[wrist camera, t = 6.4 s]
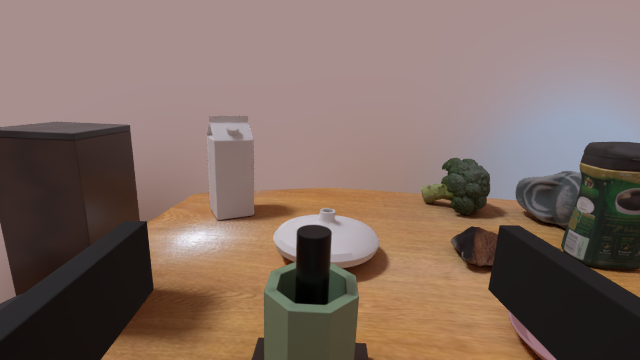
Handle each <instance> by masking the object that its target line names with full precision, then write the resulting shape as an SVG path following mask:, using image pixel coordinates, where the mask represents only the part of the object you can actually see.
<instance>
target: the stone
mask: <svg viewBox="0 0 640 360" xmlns="http://www.w3.org/2000/svg"><path fill="white" fill-rule="evenodd" d="M497 238H498V234H496V233H493V232H488V231H486V230H484V229H482V228H480V227H473V226H472V227H470V228H468V229H466V230H465V231H464V232H462V233H461V234H458V235H457V236H455V237H454V238H452V239H451V243H452V245H453V246H454V247H455V249H456V250H458V251H459V252H461V253H462V258H463V259H464V260H465V261H466V262H468V263H470V264H476V265H477V266H482V265H492V266H493V261H494V255H495V249H496V244H497ZM559 250H561V249H559Z"/></svg>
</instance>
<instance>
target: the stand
mask: <svg viewBox="0 0 640 360" xmlns="http://www.w3.org/2000/svg"><path fill="white" fill-rule="evenodd" d="M124 221H140V219H139V210H138V200H137V190H136V181H135V171H134V161H133V152H132V142H131V133H130V125H118V124H94V123H72V122H71V123H70V122H50V123H40V124H29V125H19V126H9V127H0V223H1V228H2V233H3V237H4V242H5V247H6V251H7V256H8V261H9V265H10V270H11V274H12V279H13V284H14V288H15V293H16V296H18V295H20V294H23V293H25V292H26V291H27V290H29V289H30V288H32V287H33V286H34V285H36V284H37V283H39V282H40V281H41V280H43V279H44V278H46V277H47V276H48V275H50V274H51V273H53V272H54V271H55V270H57V269H58V268H60V267H61V266H62V265H64V264H65V263H67V262H68V261H69V260H71V259H72V258H74V257H75V256H76V255H78V254H79V253H81V252H82V251H83V250H85V249H86V248H88V247H89V246H90V245H92V244H93V243H95V242H96V241H97V240H99V239H100V238H102V237H103V236H104V235H106V234H107V233H109V232H110V231H111V230H113V229H114V228H116V227H117V226H118V225H120V224H121V223H123V222H124Z"/></svg>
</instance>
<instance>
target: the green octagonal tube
mask: <svg viewBox="0 0 640 360" xmlns="http://www.w3.org/2000/svg"><path fill="white" fill-rule="evenodd" d="M295 282H296V262H294V263H292V264H289V265H287V266H284V267H282V268H279V269H277V270H274V271H272V272H271V273H270V276H269V279H268V282H267V285H266V288H265V291H264V360H354V353H355V340H356V327H357V315H358V302H359V295H358V288H357V281H356V276H355V275H353V274H351V273H349V272H348V271H346V270H344V269H342V268H340V267H338V266H336V265H335V264H333V263H331V262H330V279H329V299H328V304H327V305H313V304H295Z"/></svg>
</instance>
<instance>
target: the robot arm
mask: <svg viewBox="0 0 640 360" xmlns="http://www.w3.org/2000/svg"><path fill="white" fill-rule="evenodd" d="M488 289H489V290H490V292H491V293H492V294H493V295H494V296H495V297H496V298H497V299H498V300H499V301H500V302H501V303H502V304H503V305H504V306H505V307H506V308H507V309H508V310H509V311H510V312H511V313H512V314H513V315H514V316H515V317H516V318H517V319H518V320H519V322H520V323H521V324H522V325H523V326H524V327H525V328H526V329H527V330H528V331H529V332H530V333H531V334H532V335H533V336H534V337H535V338H536V339H537V340H538V341H539V342H540V343H541V344H542V345H543V346H544V347H545V348H546V349H547V350H548V352H549V353H550V354H551V355H552V356H553V357H554V358H555V359H556V360H640V298H639V297H638V296H636V295H634V294H633V293H631V292H629V291H628V290H626V289H624V288H623V287H621V286H619V285H618V284H616V283H614V282H613V281H611V280H609V279H608V278H606V277H604V276H603V275H601V274H599V273H597V272H596V271H594V270H592V269H591V268H589V267H587V266H586V265H584V264H582V263H581V262H579V261H577V260H576V259H574V258H572V257H571V256H569V255H567V254H566V253H564V252H562V251H561V250H559V249H557V248H556V247H554V246H552V245H551V244H549V243H547V242H546V241H544V240H542V239H541V238H539V237H537V236H536V235H534V234H532V233H530V232H529V231H527V230H525V229H524V228H522V227H520V226H506V225H500V227H499V233H498V238H497V244H496V249H495V255H494V261H493V266H492V272H491V277H490V283H489V288H488ZM153 290H154V289H153V279H152V269H151V259H150V250H149V240H148V230H147V222H146V221H145V222H144V221H124V222H123V223H121V224H120V225H118V226H117V227H116V228H114V229H113V230H111V231H110V232H109V233H107V234H106V235H104V236H103V237H102V238H100V239H99V240H97V241H96V242H95V243H93V244H92V245H90V246H89V247H88V248H86V249H85V250H83V251H82V252H81V253H79V254H78V255H76V256H75V257H74V258H72V259H71V260H69V261H68V262H67V263H65V264H64V265H62V266H61V267H60V268H58V269H57V270H55V271H54V272H53V273H51V274H50V275H48V276H47V277H46V278H44V279H43V280H41V281H40V282H39V283H37V284H36V285H34V286H33V287H32V288H30V289H29V290H27V291H26V292H25V293H23V294H20V295H18V296H16V297H13V298H11V299H9V300H7V301H5V302H3V303H1V304H0V360H101V358H102V357H103V356H104V354H105V353H106V352H107V351H108V349H109V348H110V347H111V345H112V344H113V343H114V341H115V340H116V339H117V337H118V336H119V335H120V333H121V332H122V331H123V329H124V328H125V327H126V325H127V324H128V323H129V321H130V320H131V319H132V318H133V316H134V315H135V314H136V312H137V311H138V310H139V308H140V307H141V306H142V304H143V303H144V302H145V300H146V299H147V298H148V296H149V295H150V294H151V292H152V291H153Z"/></svg>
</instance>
